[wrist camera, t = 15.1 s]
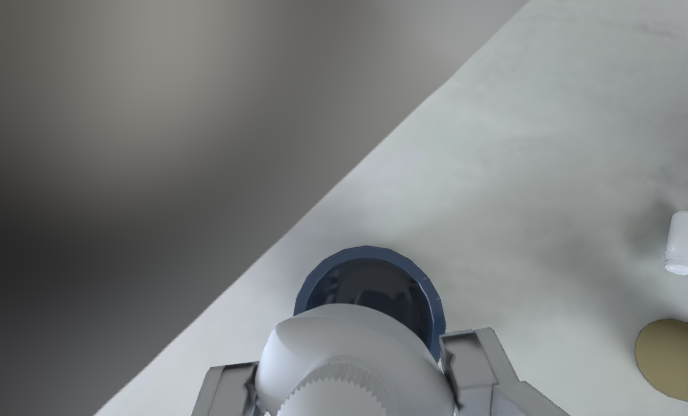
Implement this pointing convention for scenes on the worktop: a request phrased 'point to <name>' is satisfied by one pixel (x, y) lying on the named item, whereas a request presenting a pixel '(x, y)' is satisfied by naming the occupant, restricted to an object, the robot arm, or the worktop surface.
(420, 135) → the worktop surface
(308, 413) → the eye dropper bottle
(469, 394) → the robot arm
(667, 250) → the small white plastic part
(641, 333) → the olive pawn
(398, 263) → the dark blue round pot
